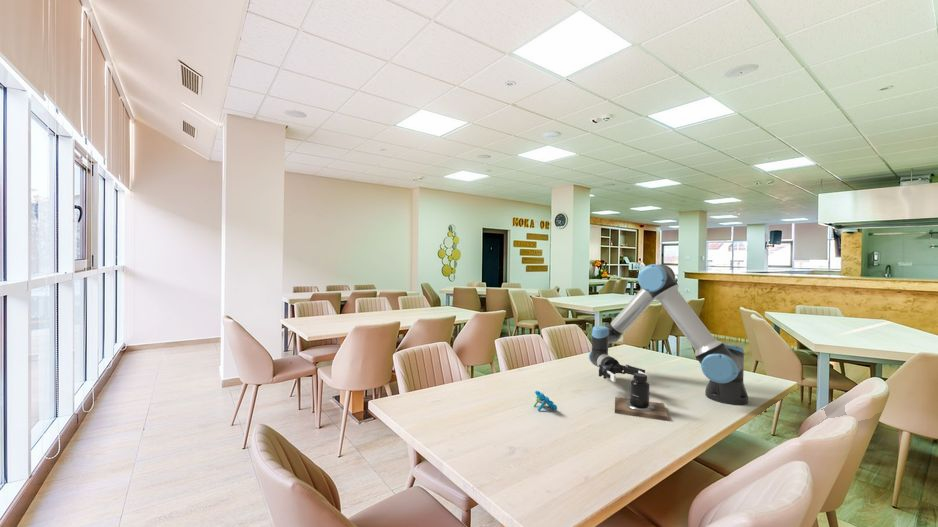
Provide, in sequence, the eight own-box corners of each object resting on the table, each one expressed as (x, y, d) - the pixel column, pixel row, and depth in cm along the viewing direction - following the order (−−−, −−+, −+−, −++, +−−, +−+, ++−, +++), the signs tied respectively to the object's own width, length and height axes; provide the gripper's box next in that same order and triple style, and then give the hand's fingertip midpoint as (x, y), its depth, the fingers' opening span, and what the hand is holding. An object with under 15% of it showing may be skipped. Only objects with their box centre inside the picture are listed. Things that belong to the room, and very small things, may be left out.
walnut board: (663, 407, 152) (663, 402, 152) (667, 420, 139) (667, 415, 139) (615, 400, 159) (615, 396, 159) (614, 413, 146) (614, 408, 146)
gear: (563, 409, 144) (545, 391, 143) (553, 422, 142) (535, 404, 141) (548, 403, 155) (531, 386, 153) (539, 415, 153) (522, 398, 152)
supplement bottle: (629, 407, 147) (630, 375, 147) (629, 401, 153) (630, 371, 153) (649, 409, 144) (650, 378, 144) (648, 403, 151) (649, 373, 151)
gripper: (634, 372, 178) (660, 387, 156) (581, 372, 176) (600, 388, 155) (634, 356, 178) (660, 369, 156) (582, 356, 176) (601, 369, 155)
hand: (631, 378), depth 155 cm, fingers open, 13 cm apart
